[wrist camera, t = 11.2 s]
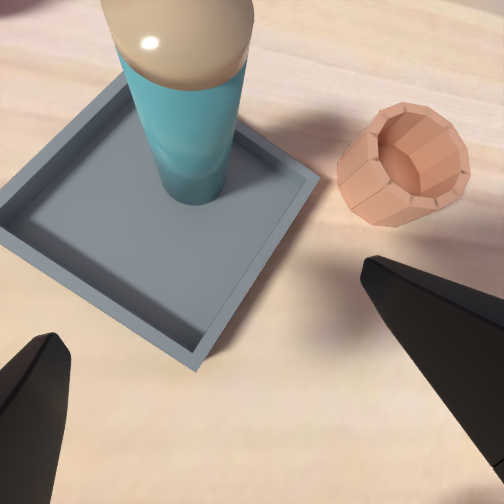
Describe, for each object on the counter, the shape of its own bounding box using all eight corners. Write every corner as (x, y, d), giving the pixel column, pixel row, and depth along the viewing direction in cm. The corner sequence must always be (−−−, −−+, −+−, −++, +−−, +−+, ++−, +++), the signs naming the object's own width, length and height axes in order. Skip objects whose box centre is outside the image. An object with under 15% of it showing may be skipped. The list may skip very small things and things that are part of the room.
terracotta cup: (436, 173, 26) (483, 146, 21) (400, 245, 23) (445, 231, 19) (363, 122, 25) (396, 83, 21) (320, 189, 23) (348, 162, 19)
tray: (308, 191, 23) (321, 177, 20) (196, 364, 19) (195, 372, 16) (149, 80, 22) (142, 52, 20) (-3, 233, 18) (-34, 222, 16)
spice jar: (229, 152, 21) (260, -33, 10) (222, 210, 20) (246, 81, 9) (166, 140, 20) (117, -75, 9) (155, 199, 20) (83, 44, 8)
